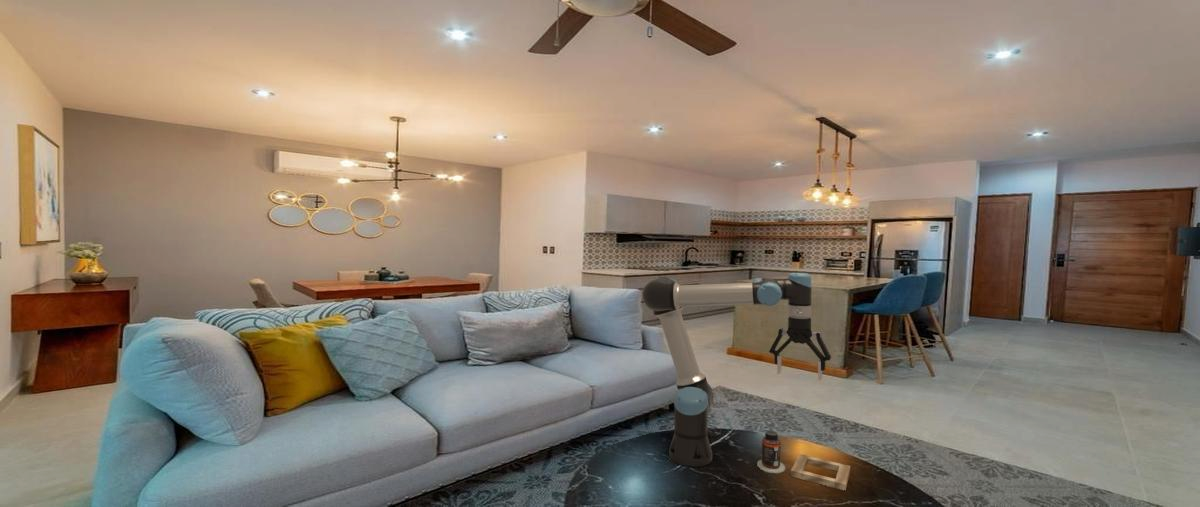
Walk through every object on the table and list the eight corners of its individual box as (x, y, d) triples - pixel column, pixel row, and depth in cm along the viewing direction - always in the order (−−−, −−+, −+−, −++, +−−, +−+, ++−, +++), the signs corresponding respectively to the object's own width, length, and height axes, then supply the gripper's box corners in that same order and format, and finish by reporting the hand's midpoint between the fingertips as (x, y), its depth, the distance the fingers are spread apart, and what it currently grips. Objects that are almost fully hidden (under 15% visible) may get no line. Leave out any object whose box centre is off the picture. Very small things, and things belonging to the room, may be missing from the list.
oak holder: (790, 476, 157) (791, 470, 157) (799, 459, 168) (799, 453, 168) (845, 490, 148) (845, 484, 148) (850, 471, 160) (850, 465, 160)
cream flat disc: (754, 468, 162) (754, 467, 162) (761, 458, 169) (761, 456, 169) (781, 476, 157) (781, 474, 157) (787, 465, 164) (787, 463, 164)
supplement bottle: (781, 470, 159) (782, 437, 159) (763, 468, 161) (763, 435, 160) (778, 461, 165) (779, 429, 165) (760, 460, 166) (761, 428, 166)
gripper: (760, 315, 172) (760, 373, 173) (837, 321, 158) (836, 384, 159) (766, 312, 179) (766, 368, 180) (840, 318, 165) (839, 379, 166)
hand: (799, 376), depth 169 cm, fingers open, 13 cm apart
